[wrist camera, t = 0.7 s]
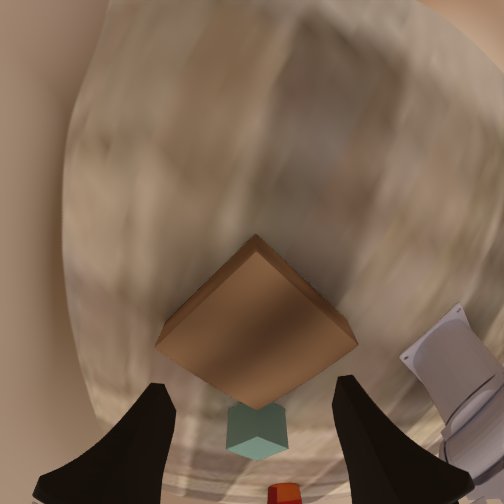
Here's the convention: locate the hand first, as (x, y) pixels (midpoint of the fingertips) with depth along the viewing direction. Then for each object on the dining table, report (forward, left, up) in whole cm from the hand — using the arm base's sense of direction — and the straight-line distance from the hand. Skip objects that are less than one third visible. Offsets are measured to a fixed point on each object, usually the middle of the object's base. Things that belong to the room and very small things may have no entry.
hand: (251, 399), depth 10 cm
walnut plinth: (-2, +2, -9) cm, 10 cm away
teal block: (-10, +10, -10) cm, 17 cm away
